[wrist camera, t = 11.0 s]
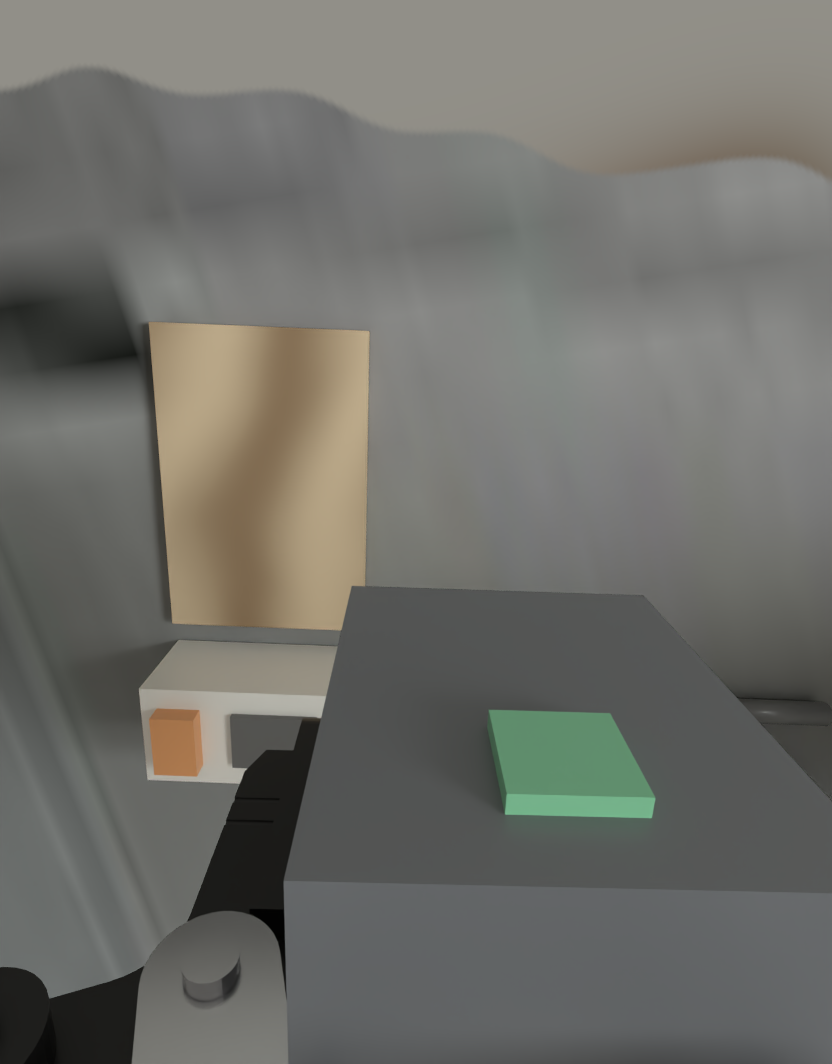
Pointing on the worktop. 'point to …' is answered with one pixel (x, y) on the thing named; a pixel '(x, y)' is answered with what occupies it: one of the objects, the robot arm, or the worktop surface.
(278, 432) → the cork pad
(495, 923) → the block
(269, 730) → the power strip
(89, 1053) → the robot arm
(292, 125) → the worktop surface
